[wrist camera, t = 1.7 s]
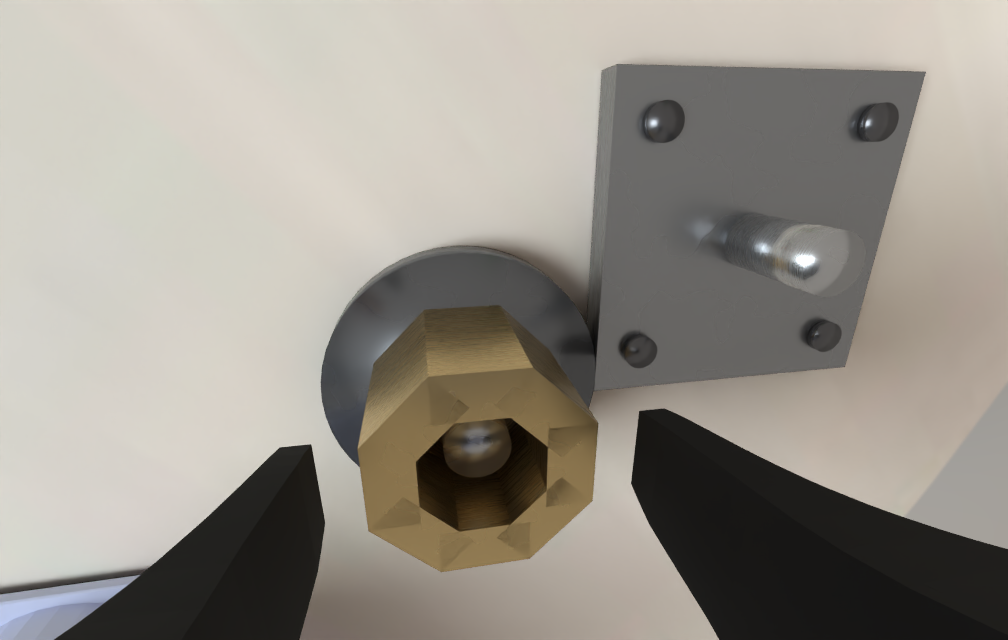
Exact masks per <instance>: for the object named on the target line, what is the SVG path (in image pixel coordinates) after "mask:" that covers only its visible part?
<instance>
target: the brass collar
mask: <svg viewBox="0 0 1008 640" xmlns="http://www.w3.org/2000/svg"><path fill="white" fill-rule="evenodd" d="M503 418H504V420H505V423H506V426H507V429H508V432H509V435H510V438H511V443H512V448H511V453H510V456H509V458H508V460H507V461H506V462H505V464H504V465H503V466H502V467H501V468H500V469H498V470H497V471H495V472H494V473H492V474H489V475H487V476H483V477H475V478H474V477H465V476H462V475H460V474H457V473H456V472H454V471H453V470H452V469H451V468H450V467H449V466H448V464H447V463H446V461H445V458H444V451H443V440H442V435H443V434H444V433H445V432H446V431H447V430H448V429H449V428H450V427H451V426H452V425H453V424H454V423H464V422H474V421H483V420H493V419H503ZM597 433H598V422H597V421H596V419H595V418H594V416H593V415H592V413H591V412H590V410H589V409H588V407H587V406H586V404H585V403H584V401H583V400H582V398H581V397H580V395H579V394H578V392H577V391H576V389H575V388H574V386H573V385H572V383H571V382H570V380H569V379H568V377H567V376H566V374H565V373H564V371H563V370H562V368H561V367H560V365H559V364H558V362H557V361H556V359H555V358H554V356H553V355H552V353H551V352H550V350H549V349H548V348H547V347H546V346H545V345H544V344H542V343H541V342H540V341H539V340H538V339H537V338H536V337H535V336H534V335H532V334H531V333H530V332H529V331H528V330H527V329H526V328H525V327H523V326H522V325H521V324H520V323H519V322H518V321H517V320H516V319H514V318H513V317H512V316H511V315H510V314H509V313H508V312H507V311H506V310H504V309H503V308H502V307H501V306H500V305H491V306H475V307H459V308H443V309H426V310H423V311H422V312H421V313H420V314H419V315H418V316H417V318H416V319H415V320H414V321H413V322H412V323H411V324H410V325H409V326H408V327H407V328H406V329H405V330H404V331H403V332H402V334H401V335H400V336H399V337H398V338H397V339H396V340H395V341H394V342H393V343H392V344H391V345H390V346H389V347H388V348H387V349H386V351H385V352H384V353H383V354H382V355H381V356H380V357H379V358H378V359H377V360H376V361H375V362H374V364H373V369H372V375H371V380H370V385H369V390H368V396H367V401H366V406H365V412H364V417H363V422H362V428H361V433H360V438H359V444H358V449H357V450H358V456H359V464H360V471H361V479H362V486H363V493H364V501H365V508H366V515H367V523H368V530H369V532H371V533H373V534H375V535H376V536H378V537H380V538H382V539H383V540H385V541H387V542H389V543H391V544H392V545H394V546H396V547H398V548H399V549H401V550H403V551H405V552H407V553H408V554H410V555H412V556H414V557H415V558H417V559H419V560H421V561H423V562H424V563H426V564H428V565H430V566H431V567H433V568H435V569H437V570H439V571H440V572H445V571H452V570H458V569H465V568H471V567H478V566H484V565H491V564H497V563H504V562H510V561H517V560H523V559H530V558H531V557H532V556H533V555H534V554H535V553H536V552H537V551H538V550H539V549H540V548H542V547H543V546H544V545H545V544H546V543H547V542H548V541H549V540H550V539H551V538H552V537H553V536H555V535H556V534H557V533H558V532H559V531H560V530H561V529H562V528H563V527H564V526H565V525H567V524H568V523H569V522H570V521H571V520H572V519H573V518H574V517H575V516H576V515H577V514H578V513H580V512H581V511H582V510H583V509H584V508H585V507H586V506H587V505H588V504H589V503H590V502H592V499H593V486H594V472H595V459H596V446H597Z"/></svg>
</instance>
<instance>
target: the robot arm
mask: <svg viewBox="0 0 1008 640" xmlns="http://www.w3.org/2000/svg"><path fill="white" fill-rule="evenodd" d="M631 484H632V487H633V489H634V491H635V494H636V496H637V498H638V501H639V503H640V505H641V507H642V509H643V512H644V514H645V516H646V518H647V520H648V522H649V524H650V526H651V528H652V529H653V531H654V533H655V534H656V536H657V538H658V539H659V541H660V543H661V544H662V546H663V548H664V549H665V551H666V552H667V554H668V556H669V557H670V559H671V561H672V562H673V564H674V565H675V567H676V569H677V570H678V572H679V574H680V575H681V577H682V578H683V580H684V582H685V583H686V585H687V586H688V588H689V590H690V591H691V593H692V594H693V596H694V598H695V599H696V601H697V603H698V604H699V606H700V607H701V609H702V611H703V612H704V614H705V615H706V617H707V619H708V620H709V622H710V624H711V626H712V627H713V629H714V631H715V633H716V635H717V636H718V638H719V640H1008V549H1005V548H1001V547H998V546H994V545H990V544H987V543H983V542H980V541H976V540H973V539H969V538H966V537H963V536H960V535H956V534H953V533H950V532H946V531H943V530H940V529H937V528H934V527H931V526H928V525H925V524H922V523H919V522H916V521H913V520H910V519H907V518H904V517H901V516H898V515H895V514H893V513H890V512H887V511H884V510H882V509H879V508H876V507H873V506H871V505H868V504H865V503H863V502H860V501H858V500H855V499H853V498H850V497H848V496H845V495H843V494H840V493H838V492H835V491H833V490H830V489H828V488H826V487H823V486H821V485H819V484H816V483H814V482H812V481H809V480H807V479H805V478H803V477H801V476H799V475H796V474H794V473H792V472H790V471H788V470H786V469H784V468H781V467H779V466H777V465H775V464H773V463H771V462H769V461H767V460H765V459H763V458H761V457H759V456H757V455H755V454H753V453H751V452H749V451H747V450H745V449H743V448H741V447H739V446H737V445H735V444H734V443H732V442H730V441H728V440H726V439H724V438H722V437H720V436H718V435H716V434H715V433H713V432H711V431H709V430H707V429H705V428H703V427H701V426H699V425H697V424H696V423H694V422H692V421H690V420H688V419H686V418H684V417H682V416H680V415H678V414H676V413H673V412H671V411H669V410H666V409H654V410H645V411H639V419H638V428H637V437H636V445H635V454H634V463H633V472H632V481H631ZM324 527H325V520H324V514H323V508H322V503H321V497H320V491H319V486H318V480H317V474H316V469H315V463H314V458H313V452H312V446H311V444H310V445H301V446H291V447H281V448H279V449H278V450H277V451H276V452H275V453H273V454H272V455H271V456H270V457H269V458H268V459H267V460H266V461H265V462H264V463H263V464H262V465H261V466H260V467H259V468H258V469H257V470H256V471H255V472H254V473H253V474H252V475H251V476H250V477H249V478H248V479H247V480H246V481H245V482H244V483H243V484H242V485H241V486H240V487H239V488H238V489H237V490H235V491H234V492H233V493H232V494H231V495H230V496H229V497H228V498H227V499H226V500H225V501H224V502H223V503H222V504H221V505H220V506H219V507H218V508H217V509H216V510H214V511H213V512H212V513H211V514H210V515H209V516H208V517H207V518H206V519H205V520H204V521H203V522H201V523H200V524H199V525H198V526H197V527H196V528H195V529H193V530H192V531H191V532H190V533H189V534H188V535H187V536H185V537H184V538H183V539H182V540H181V541H180V542H179V543H177V544H176V545H175V546H174V547H173V548H172V549H171V550H169V551H168V552H167V553H166V554H165V555H164V556H163V557H161V558H160V559H159V560H158V561H157V562H156V563H154V564H153V565H152V566H151V567H150V568H148V569H147V570H146V571H145V572H144V573H142V574H141V575H136V576H129V577H122V578H115V579H108V580H101V581H94V582H86V583H79V584H72V585H65V586H58V587H51V588H44V589H36V590H29V591H22V592H15V593H8V594H1V595H0V640H299V638H300V635H301V631H302V628H303V624H304V620H305V617H306V613H307V610H308V606H309V602H310V599H311V595H312V591H313V587H314V584H315V580H316V576H317V572H318V567H319V561H320V554H321V548H322V541H323V534H324Z"/></svg>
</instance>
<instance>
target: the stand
mask: <svg viewBox="0 0 1008 640" xmlns="http://www.w3.org/2000/svg"><path fill="white" fill-rule="evenodd" d="M491 305H500V306H501V307H502V308H503V309H504V310H506V311H507V312H508V313H509V314H510V315H511V316H512V317H513V318H514V319H516V320H517V321H518V322H519V323H520V324H521V325H522V326H523V327H525V328H526V329H527V330H528V331H529V332H530V333H531V334H532V335H534V336H535V337H536V338H537V339H538V340H539V341H540V342H541V343H542V344H544V345H545V346H546V347H547V348H548V349H549V350H550V352H551V353H552V355H553V356H554V358H555V359H556V361H557V362H558V364H559V365H560V367H561V368H562V370H563V371H564V373H565V374H566V376H567V377H568V379H569V380H570V382H571V383H572V385H573V386H574V388H575V389H576V391H577V392H578V394H579V395H580V397H581V398H582V400H583V401H584V403H585V404H586V406H587V407H588V408H589V405H590V401H591V397H592V394H593V389H594V382H595V356H594V349H593V344H592V340H591V337H590V334H589V330H588V328H587V326H586V324H585V322H584V320H583V317H582V315H581V314H580V312H579V311H578V309H577V308H576V306H575V305H574V303H573V302H572V301H571V300H570V299H569V297H568V296H567V295H566V294H565V293H564V292H563V291H562V290H561V289H560V288H559V287H558V286H557V285H556V284H555V283H554V282H553V281H552V280H551V279H550V278H549V277H547V276H546V275H545V274H544V273H543V272H541V271H540V270H539V269H537V268H536V267H534V266H532V265H531V264H529V263H528V262H526V261H524V260H522V259H520V258H517V257H515V256H513V255H511V254H508V253H504V252H501V251H498V250H494V249H489V248H482V247H476V246H451V247H442V248H436V249H432V250H427V251H423V252H419V253H417V254H414V255H412V256H409V257H406V258H404V259H402V260H400V261H398V262H396V263H394V264H392V265H390V266H389V267H387V268H385V269H384V270H382V271H381V272H380V273H378V274H377V275H376V276H374V277H373V278H371V279H370V280H369V281H368V282H367V283H366V284H365V285H364V286H363V287H362V288H361V289H360V290H359V291H358V292H357V293H356V295H355V296H354V297H353V298H352V300H351V301H350V302H349V303H348V305H347V306H346V308H345V310H344V311H343V313H342V315H341V317H340V318H339V320H338V322H337V325H336V327H335V329H334V331H333V334H332V336H331V339H330V341H329V344H328V346H327V349H326V352H325V357H324V361H323V365H322V375H321V393H322V402H323V407H324V411H325V415H326V418H327V421H328V423H329V426H330V428H331V430H332V433H333V434H334V436H335V438H336V439H337V441H338V443H339V444H340V446H341V447H342V449H343V450H344V451H345V452H346V454H347V455H348V456H349V457H350V458H351V459H352V460H353V461H354V462H355V463H356V464H357V465H358V466H359V467H360V464H359V456H358V450H357V449H358V444H359V438H360V433H361V428H362V422H363V417H364V412H365V406H366V401H367V396H368V390H369V385H370V380H371V375H372V369H373V364H374V362H375V361H376V360H377V359H378V358H379V357H380V356H381V355H382V354H383V353H384V352H385V351H386V349H387V348H388V347H389V346H390V345H391V344H392V343H393V342H394V341H395V340H396V339H397V338H398V337H399V336H400V335H401V334H402V332H403V331H404V330H405V329H406V328H407V327H408V326H409V325H410V324H411V323H412V322H413V321H414V320H415V319H416V318H417V316H418V315H419V314H420V313H421V312H422V311H423V310H426V309H443V308H459V307H475V306H491ZM442 440H443V451H444V458H445V461H446V463H447V464H448V466H449V467H450V468H451V469H452V470H453V471H454V472H456V473H457V474H460V475H462V476H465V477H474V478H475V477H483V476H487V475H489V474H492V473H494V472H495V471H497V470H498V469H500V468H501V467H502V466H503V465H504V464H505V462H506V461H507V460H508V458H509V456H510V453H511V448H512V443H511V438H510V435H509V432H508V429H507V426H506V423H505V420H504V418H503V419H493V420H483V421H474V422H464V423H454V424H453V425H452V426H451V427H450V428H449V429H448V430H447V431H446V432H445V433H444V434H443V435H442Z"/></svg>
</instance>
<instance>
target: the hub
mask: <svg viewBox="0 0 1008 640" xmlns="http://www.w3.org/2000/svg"><path fill="white" fill-rule="evenodd" d="M925 73H926V72H914V71H873V70H833V69H793V68H753V67H712V66H672V65H632V64H616V65H614V66H611V67H609V68H606V69H604V70H602V78H601V94H600V111H599V127H598V144H597V161H596V177H595V194H594V210H593V227H592V243H591V260H590V277H589V293H588V310H587V328H588V330H589V334H590V337H591V340H592V344H593V349H594V356H595V382H594V389H593V390H594V391H597V390H608V389H618V388H629V387H639V386H649V385H660V384H670V383H681V382H691V381H702V380H712V379H723V378H733V377H744V376H754V375H765V374H775V373H786V372H796V371H806V370H817V369H827V368H838V367H845V364H846V360H847V357H848V353H849V350H850V346H851V342H852V339H853V335H854V331H855V328H856V324H857V320H858V317H859V313H860V310H861V306H862V302H863V299H864V295H865V291H866V288H867V284H868V280H869V277H870V273H871V269H872V266H873V262H874V259H875V255H876V251H877V248H878V244H879V240H880V237H881V233H882V229H883V226H884V222H885V219H886V215H887V211H888V208H889V204H890V200H891V197H892V193H893V189H894V186H895V182H896V179H897V175H898V171H899V168H900V164H901V160H902V157H903V153H904V149H905V146H906V142H907V139H908V135H909V131H910V128H911V124H912V120H913V117H914V113H915V109H916V106H917V102H918V99H919V95H920V91H921V88H922V84H923V80H924V77H925Z"/></svg>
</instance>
